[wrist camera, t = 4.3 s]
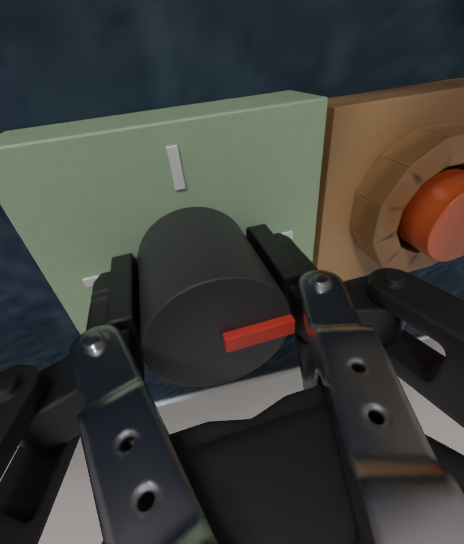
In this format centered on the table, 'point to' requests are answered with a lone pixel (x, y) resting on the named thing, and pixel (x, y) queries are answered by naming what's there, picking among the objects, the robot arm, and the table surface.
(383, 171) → the button box
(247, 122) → the green dial box
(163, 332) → the knob
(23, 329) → the table surface
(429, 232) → the button
